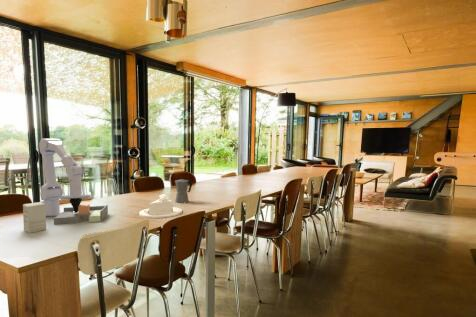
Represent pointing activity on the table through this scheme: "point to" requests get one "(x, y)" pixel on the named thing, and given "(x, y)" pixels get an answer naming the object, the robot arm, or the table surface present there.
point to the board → (82, 215)
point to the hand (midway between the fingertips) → (76, 212)
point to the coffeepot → (182, 190)
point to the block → (84, 209)
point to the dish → (161, 208)
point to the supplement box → (34, 217)
